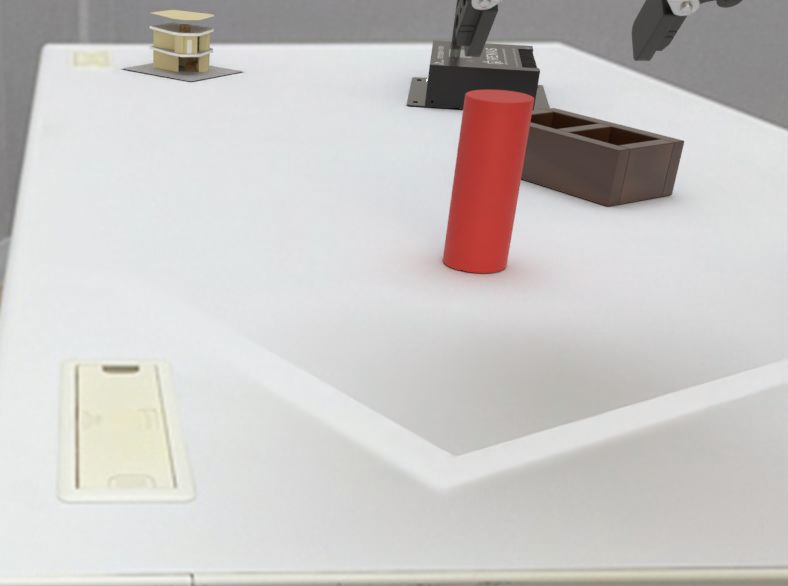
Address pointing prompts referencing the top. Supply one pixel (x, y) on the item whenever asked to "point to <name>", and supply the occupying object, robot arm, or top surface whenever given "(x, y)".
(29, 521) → the top surface
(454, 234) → the peg
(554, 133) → the brown divided tray
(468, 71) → the wireless controller
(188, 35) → the stacked layers on plate
